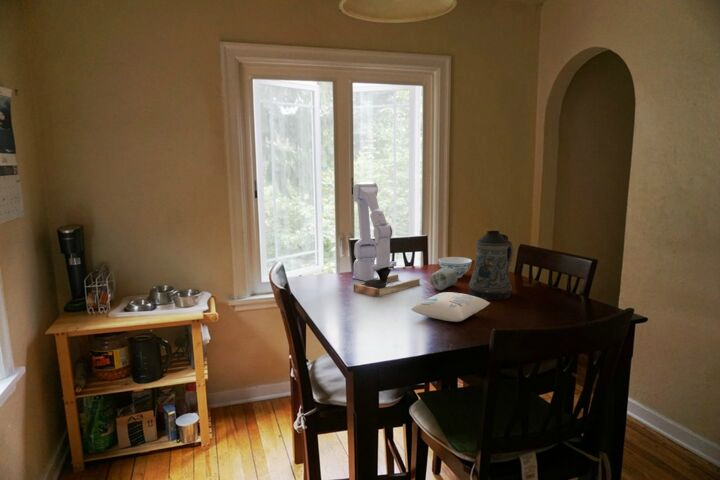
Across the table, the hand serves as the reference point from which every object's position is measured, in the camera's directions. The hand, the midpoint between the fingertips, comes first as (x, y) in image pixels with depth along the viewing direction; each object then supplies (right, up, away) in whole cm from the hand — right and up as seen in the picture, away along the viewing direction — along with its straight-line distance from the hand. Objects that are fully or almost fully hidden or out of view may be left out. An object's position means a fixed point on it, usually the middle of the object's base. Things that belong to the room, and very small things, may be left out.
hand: (383, 285), depth 191 cm
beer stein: (+42, -2, -10) cm, 44 cm away
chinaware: (+34, +2, +19) cm, 39 cm away
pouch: (+21, -7, -38) cm, 44 cm away
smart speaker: (-4, -2, -3) cm, 5 cm away
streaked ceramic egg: (+25, -1, 0) cm, 26 cm away
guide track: (+1, -1, +1) cm, 2 cm away
